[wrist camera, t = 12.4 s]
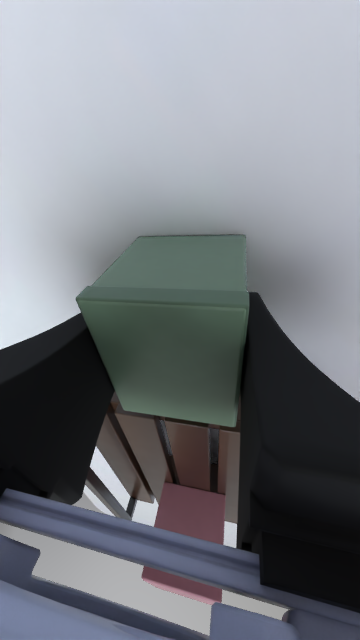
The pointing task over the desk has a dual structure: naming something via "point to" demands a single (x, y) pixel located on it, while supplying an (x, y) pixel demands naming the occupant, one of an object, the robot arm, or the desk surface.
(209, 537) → the rose box
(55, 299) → the desk surface
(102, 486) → the rack
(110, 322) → the sage box
